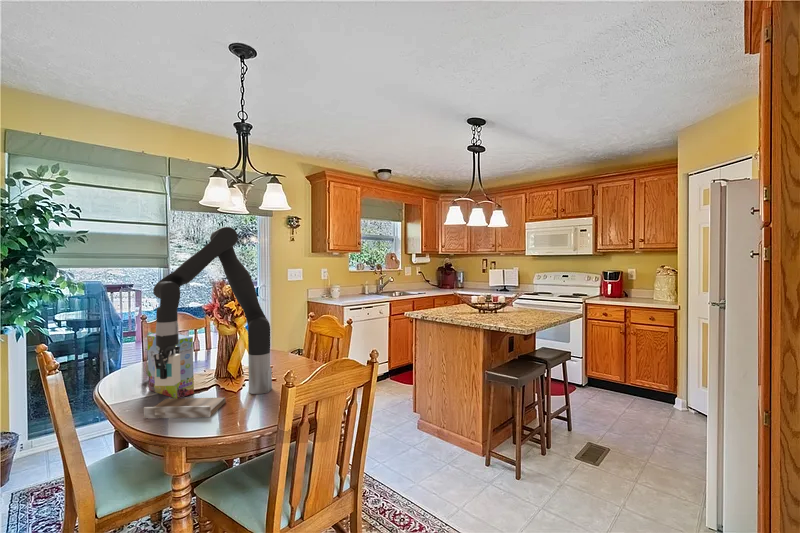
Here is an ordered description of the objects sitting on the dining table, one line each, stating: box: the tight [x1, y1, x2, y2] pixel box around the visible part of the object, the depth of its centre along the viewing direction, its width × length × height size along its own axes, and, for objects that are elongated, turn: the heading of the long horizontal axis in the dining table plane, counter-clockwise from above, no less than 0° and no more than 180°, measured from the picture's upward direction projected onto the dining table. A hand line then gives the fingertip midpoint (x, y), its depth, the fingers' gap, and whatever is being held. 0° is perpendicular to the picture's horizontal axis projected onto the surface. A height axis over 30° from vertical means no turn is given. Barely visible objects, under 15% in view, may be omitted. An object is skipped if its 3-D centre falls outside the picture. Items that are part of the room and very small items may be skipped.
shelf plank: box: [143, 397, 226, 419], centre depth 152 cm, size 24×15×4 cm, turn 93°
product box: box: [155, 354, 181, 386], centre depth 150 cm, size 5×7×11 cm
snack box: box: [146, 333, 195, 398], centre depth 172 cm, size 22×9×26 cm, turn 62°
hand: (167, 376), depth 150 cm, fingers closed on product box, 5 cm apart
